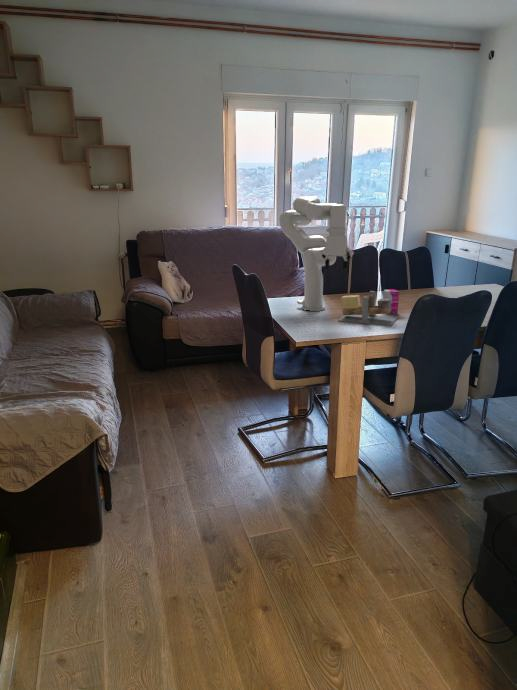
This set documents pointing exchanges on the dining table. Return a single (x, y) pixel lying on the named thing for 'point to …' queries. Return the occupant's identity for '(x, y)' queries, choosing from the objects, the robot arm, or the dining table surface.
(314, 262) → the robot arm
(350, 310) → the beam
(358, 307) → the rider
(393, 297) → the supplement box
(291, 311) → the dining table surface
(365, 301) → the stand
